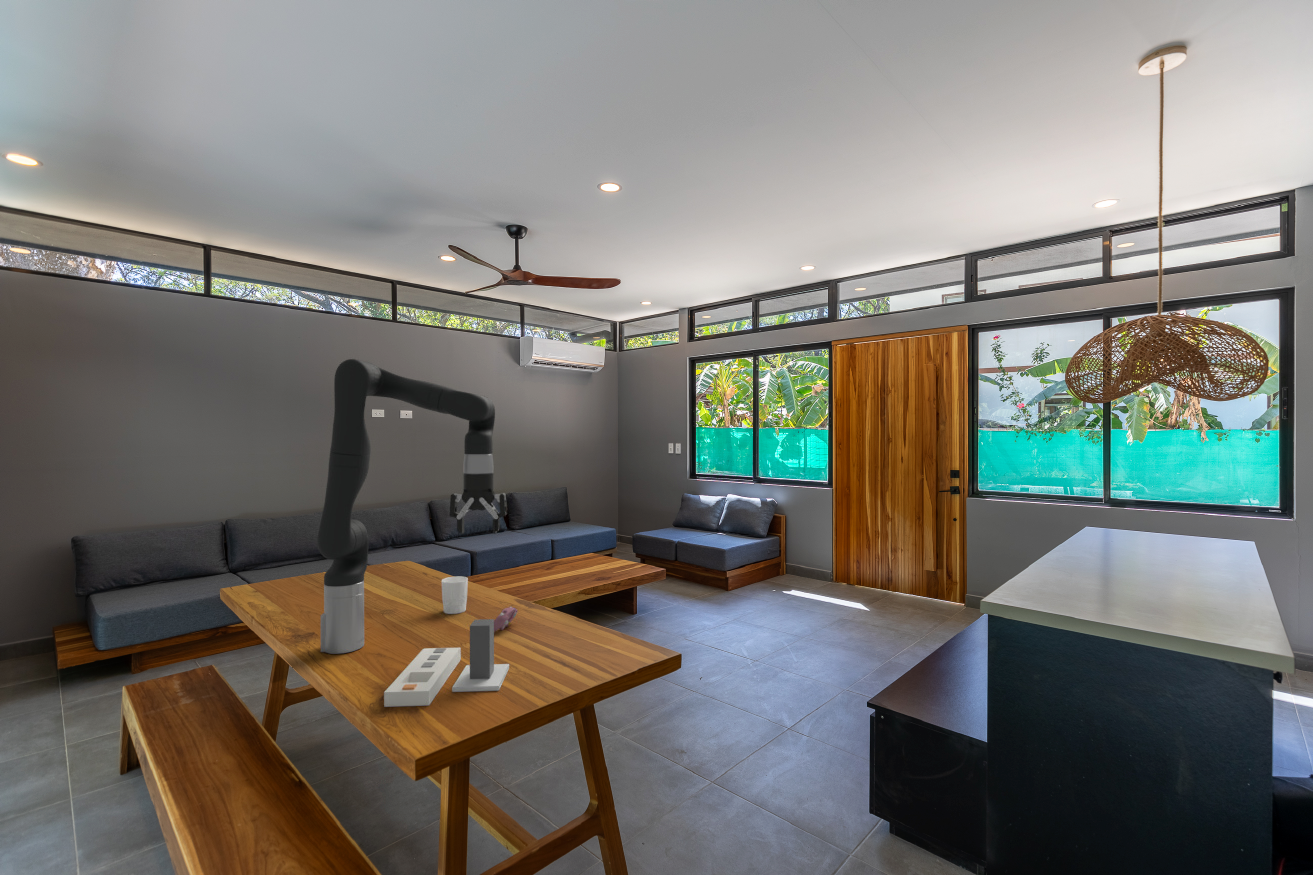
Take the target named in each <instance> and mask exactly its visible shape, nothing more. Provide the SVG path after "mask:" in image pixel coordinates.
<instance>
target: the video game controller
mask: <svg viewBox="0 0 1313 875" xmlns="http://www.w3.org/2000/svg"><path fill="white" fill-rule="evenodd" d="M518 612H519V610H518V609H517V608H515V607H512V606H509V607H506V608H503V609H502V611H501V613H500V614H498V616H496V618H494V633H496V632H497V631H498V630H500V631H503V630H504V629H505V628H506V627H509V626H510V625H511V624H512V621H513V619H514V618H515V617H516V615H517V614H518Z"/></svg>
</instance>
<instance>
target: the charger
mask: <svg viewBox="0 0 1313 875" xmlns="http://www.w3.org/2000/svg"><path fill="white" fill-rule="evenodd" d="M494 620H495V618H490V619H488V618H487V619H485V618H484V619H474V620H473V621H472V623H471V624H470V625H469V665H470V679H490V677H491V675H492V673H493V672H494V664H495V632H494Z"/></svg>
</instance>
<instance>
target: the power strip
mask: <svg viewBox="0 0 1313 875" xmlns="http://www.w3.org/2000/svg"><path fill="white" fill-rule="evenodd" d="M461 648H462V647H434V648H433V647H432V648H425V647H424V648H423V649H421V650H420V652H418V654H417V655H416V656H415V658H413V660H412V661H411V662H410V663H409V664H408V665H407V666H406V668H405V669H404V670H402V671H401V673H400V674H399V675H398V677H396V679H395V680H393V682H392V683H391V684H390V685H389V686H388V688H386V690H385V691H383V699H384V702H383V705H384V707H385V708H386V707H387V708H388V707H391V708H392V707H416V706H418V707H420V706H422V707H423V706H430V705H431V704H432V702H433V700H434V699H435V698H436V697H437V695H438V693H439V692H440V690H441V689H442V687H443V686H444V684H445V683H446V681H447V680H448V679H449V678H450V675H451V674H452V672H454V670H455V668H456V667H457V666H458V665H459V663H460V661H461V660H462V659H461V657H462V653H461V652H462V650H461Z"/></svg>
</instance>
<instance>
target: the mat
mask: <svg viewBox="0 0 1313 875" xmlns="http://www.w3.org/2000/svg"><path fill="white" fill-rule="evenodd" d="M509 669H510V663H501V664H500V663H498V664H497V663H494V672H493V673H492V675H491V677H490V679H470V664H466V666H465V667H464V668H463V670H462V672H461V673H460V675H459V676H458V678H457V679H456V681H455V682H454V684H453V686H452V687H451V692H452V693H456V692H457V693H460V692H463V693H464V692H492V691H493V692H494V691H500V689H501V686H502V684H503V682H504V680H505V678H506V676H507V674H508V671H509Z"/></svg>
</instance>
